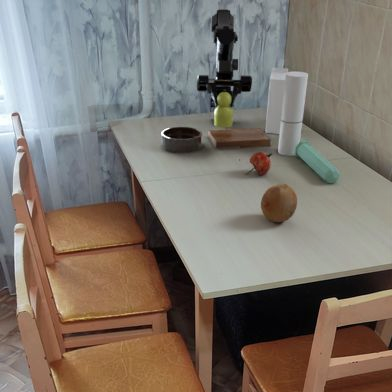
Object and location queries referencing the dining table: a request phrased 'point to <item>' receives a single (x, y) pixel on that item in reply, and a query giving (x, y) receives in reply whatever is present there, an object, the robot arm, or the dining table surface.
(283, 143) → the cylindrical container
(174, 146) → the bowl
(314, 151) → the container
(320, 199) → the dining table surface
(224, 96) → the pear
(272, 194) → the onion
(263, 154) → the red rounded lumpy piece
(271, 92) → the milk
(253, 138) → the board
